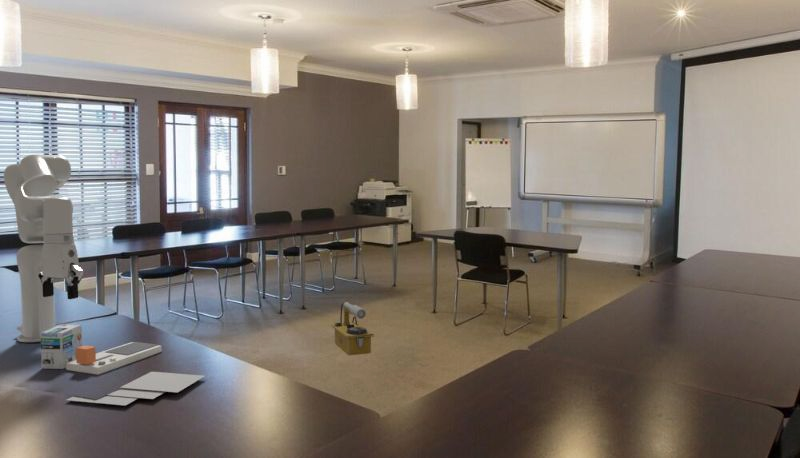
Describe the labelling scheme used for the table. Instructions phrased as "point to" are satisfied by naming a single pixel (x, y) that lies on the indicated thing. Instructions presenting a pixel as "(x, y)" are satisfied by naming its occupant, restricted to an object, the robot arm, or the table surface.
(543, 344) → the table surface
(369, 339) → the geiger counter
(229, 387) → the table surface
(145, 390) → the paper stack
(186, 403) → the table surface
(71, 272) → the robot arm
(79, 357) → the handle
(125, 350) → the panel
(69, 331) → the light bulb box
